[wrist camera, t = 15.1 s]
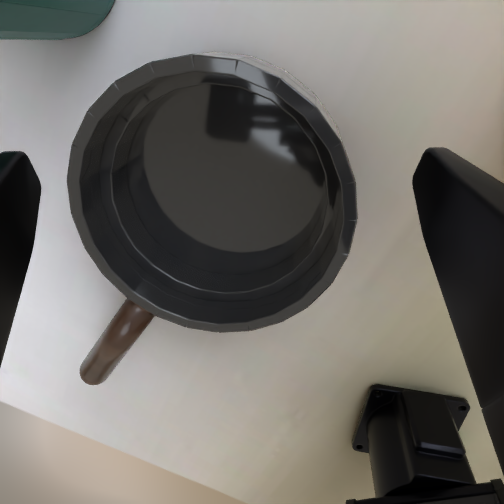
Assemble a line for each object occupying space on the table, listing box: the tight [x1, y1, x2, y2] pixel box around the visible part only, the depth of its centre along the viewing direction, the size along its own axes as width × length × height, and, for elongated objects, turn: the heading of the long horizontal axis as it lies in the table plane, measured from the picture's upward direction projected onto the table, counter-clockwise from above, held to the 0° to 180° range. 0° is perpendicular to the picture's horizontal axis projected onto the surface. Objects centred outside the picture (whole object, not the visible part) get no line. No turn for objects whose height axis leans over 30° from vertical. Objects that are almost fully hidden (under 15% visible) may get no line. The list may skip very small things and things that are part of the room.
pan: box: [67, 52, 357, 333], centre depth 20 cm, size 13×13×4 cm
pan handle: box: [80, 298, 155, 385], centre depth 23 cm, size 9×2×2 cm, turn 144°
